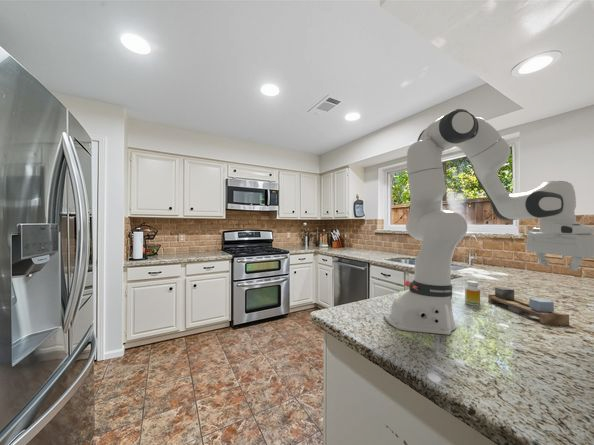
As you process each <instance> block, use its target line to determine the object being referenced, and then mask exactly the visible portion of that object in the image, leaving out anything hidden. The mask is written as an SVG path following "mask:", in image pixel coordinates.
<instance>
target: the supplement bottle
mask: <svg viewBox="0 0 594 445" xmlns="http://www.w3.org/2000/svg"><path fill="white" fill-rule="evenodd" d="M466 284H467V285H465V286H464V303H465V304H467V305H469V306H474V307H475V306H477V307H478V306H480V305H481V288H480V287H479V282H478V281H475V280H467V281H466Z"/></svg>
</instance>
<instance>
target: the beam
mask: <svg viewBox="0 0 594 445" xmlns="http://www.w3.org/2000/svg"><path fill="white" fill-rule="evenodd" d="M487 300H488V303H490V304H494V303H495V304H504V305H506V306H507V307H508V308H507V310H509V311H511V312H514V313H517V314H519V315H532V316H533V315H534V316H536V317H539V323H540V324H542V325H561V326H562V325H564V326H565V325H569V326H570V314H569V313H562V312H558V311H555V310H554V312H549V313H543V312H540V311H537V310H534V309H531V308H529V301H525V300H522V299H521V298H520V299H519V298H516V297H515V289H513V288H510V287H505V286H503V287H502V286H496V287H494V293H492V294H491V293H489V294H488V299H487Z"/></svg>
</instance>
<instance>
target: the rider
mask: <svg viewBox="0 0 594 445" xmlns="http://www.w3.org/2000/svg"><path fill="white" fill-rule="evenodd" d="M528 302H529V308H531V309H534V310H537V311H540V312H543V313H549V312H554V311H555V308H554V305H555V303H554V301H552V300H547V299H543V298H529V301H528Z"/></svg>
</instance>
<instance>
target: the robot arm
mask: <svg viewBox="0 0 594 445" xmlns="http://www.w3.org/2000/svg"><path fill="white" fill-rule="evenodd" d="M454 147H456V148H458V149H460V150H461V151H462V153H463V154H464V156H466V158H467V159H468V160H469V162H470V163H471V165H472V167H473V175H474V177H475V179H476V181H477V182H478V184H479V185H480V188H481V189H482V190H483V192H484V195H486V197H487V199H488V201H489V203H490V204H491V209H492V211H493V214H494V215H495V216H496V217H497V218H498V219H500V220H501V221H507V222H508V221H509V222H510V221H515V220H517V221H518V220H534V219H538V220H539V221H538V224H539V225H538V227H531V228H530V229H529V230H528V233H527V237H526V242H525V243H526V244H525V249H526V251H527V252H530V253H531V252H532V253H535V256H536V257H537V259H538V260H539V265H540V266H544V267H545V266H546V267H547V266H549V260H547V259H546V254H547V255H556V256H565V257H570V258H571V260H572V262H571V263H570V264H568V265H567V268H568V270H569V271H575V272H577V271H579V269H580V268H579V267H580V265H581V264H582V262H583V261H584V259H594V226H591V225H587V224H583V223H580V222H577V217H576V214H575V211H576V210H575V209H576V207H577V199H576V198H577V197H576V192H575V188H574V185H573V184H572V183H571V182H568V181H565V180H549V181H546V182H545V181H544V182H542V183H541V184H540V186H538V187H536V188H534V189H532V190H529V191H524V192H519V193H511V192H509V191H507V189H506V188H505V186H504V184H503V182H502V181H501V179H500V177H499V175H498V172H499V170H500V169H501V168H502V167H503V166H504V165H505V164H506V163H507V162H508V161H509V158H510V156H511V151H512V149H511V148H510V145H509V144H508V142H507V140H506V139H505V138H504V137H503V136H502V134H500V132H499V131H498V130H497V129H496V128H495V127H494V126H492V124H490V123H489V122H488V121H486V120H485V119H484V118H482V117H476V116H475V115H474V114H473V113H472V112H471V111H469V110H467V109H463V108H457V109H455V110H451V111H449V112H447V113H444V115H443V116H441V117H440V118H437V119H436V120H434V121H433V122H432V123H430V125H428V126H427V127H426V128H425V129H423V130H422V131H421V132H420V134H419V136H418V138H417V141H415V142H414V143H411V145H410V146H409V147H408V149H407V150H406V152H407V153H406V171H407V172H406V173H407V179H408V180H407V181H408V188H409V198H410V200H409V212H408V219H407V221H406V224H405V230H406V232H407V233H408V236H410V237H411V238H413V239H415V240H416V241H417V240H418V241H420V242H421V246H420V248H419V249H420V250H419V251H418V254H417V255H416V256H415V258H414V279H413V280H412V281H411V280H410V281H409V280H407V279H406V280H404V281H403V283H404V286H406V287H408V288H409V289H408V290H407V291H406V292H404V293H403V294H402V295H400V296H398V297H396V299H395V298H394V300H393V302H392V304H391V308H390V309H391V310H390V311H386V312H385V313H384V319H385V321H386V322H387V323H389V324H390V326H392V327H394V328H396V329H397V330H400V331H407V332H408V331H409V332H416V333H417V332H419V333H427V334H429V333H430V334H440V335H451V334H452V331H454V330H456V328H457V326H456V325H457V324H456V322H455V319H454V315H453V314H454V313H453V306H452V298H453V284H452V280H451V279H452V277H451V276H452V262H453V261H452V260H453V257H454V254H455V250H456V248H457V246H458V243H459V242H460V241H461V240H462V239H464V237H465V236H466V234H467V232H468V223H467V220H466V219H465V217H464V216H462V214H460V213H458V212H455V211H452V210H446V209H441V206H442V201H443V198H444V196H445V195H446V191H447V187H446V179H445V174H444V167H443V166H444V165H443V162H442V156H443V152H444V151H448V150H450V149H453V148H454Z"/></svg>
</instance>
